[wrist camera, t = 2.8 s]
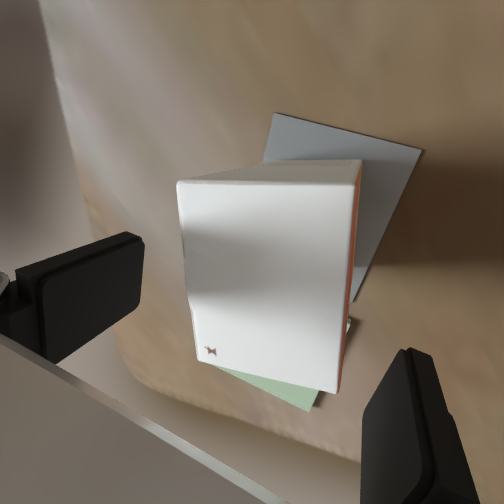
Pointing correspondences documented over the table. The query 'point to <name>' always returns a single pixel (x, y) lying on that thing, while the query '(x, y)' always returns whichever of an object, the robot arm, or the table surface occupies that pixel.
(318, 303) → the small box
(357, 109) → the table surface
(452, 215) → the table surface
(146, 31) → the table surface
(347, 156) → the slate tile
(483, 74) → the table surface
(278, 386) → the sage board
